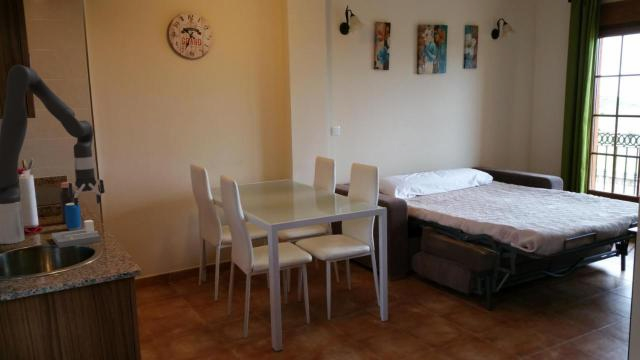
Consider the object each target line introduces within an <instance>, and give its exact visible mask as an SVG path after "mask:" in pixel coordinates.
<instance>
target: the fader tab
mask: <svg viewBox="0 0 640 360" xmlns="http://www.w3.org/2000/svg"><path fill="white" fill-rule="evenodd" d="M83 223H84V225H83V226H84V227H83V228H84V229H85V232H86V233H88V232H94V231H95V225H94V220H92V219H87V220H83Z"/></svg>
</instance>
